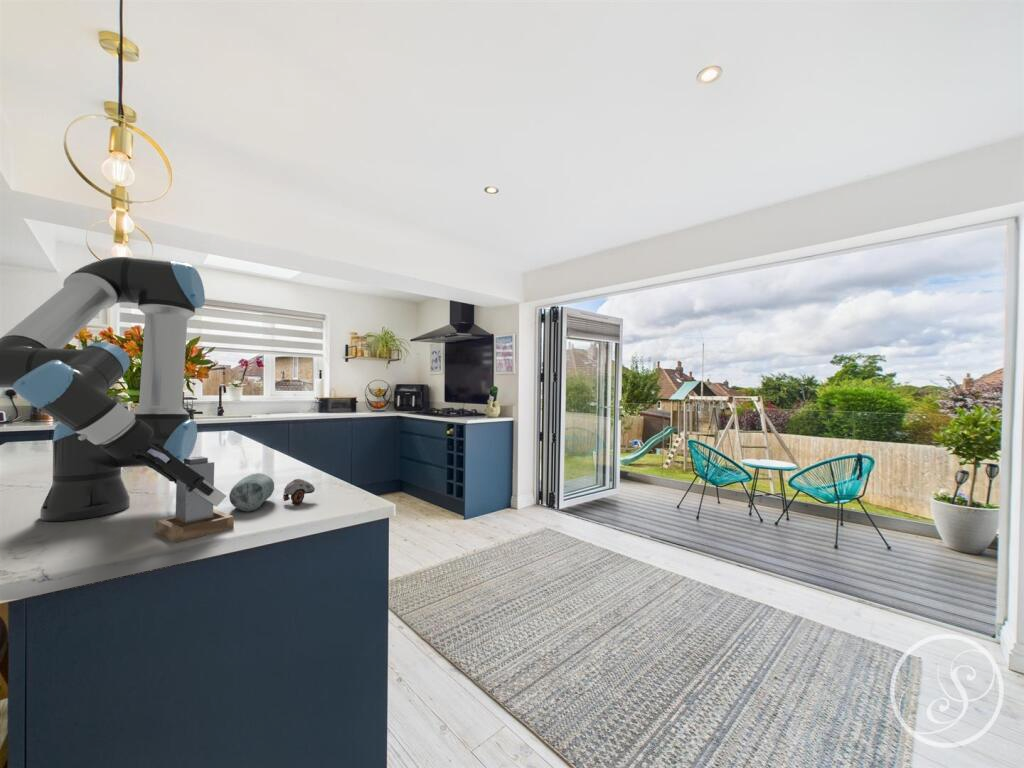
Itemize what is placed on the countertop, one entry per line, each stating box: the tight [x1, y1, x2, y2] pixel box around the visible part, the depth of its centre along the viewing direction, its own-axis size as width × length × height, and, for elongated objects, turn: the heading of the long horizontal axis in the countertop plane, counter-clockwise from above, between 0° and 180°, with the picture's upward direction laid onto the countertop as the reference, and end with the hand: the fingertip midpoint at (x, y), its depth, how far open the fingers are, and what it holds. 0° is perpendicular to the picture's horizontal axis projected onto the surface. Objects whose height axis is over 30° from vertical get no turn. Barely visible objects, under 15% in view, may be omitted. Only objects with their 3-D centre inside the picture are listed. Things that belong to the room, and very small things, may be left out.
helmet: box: [282, 478, 316, 506], centre depth 109 cm, size 6×8×7 cm
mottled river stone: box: [228, 472, 275, 512], centre depth 106 cm, size 14×10×10 cm
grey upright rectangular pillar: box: [175, 456, 215, 523], centre depth 88 cm, size 5×5×13 cm
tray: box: [155, 508, 235, 543], centre depth 88 cm, size 10×10×2 cm
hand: (214, 498), depth 91 cm, fingers closed on grey upright rectangular pillar, 5 cm apart
